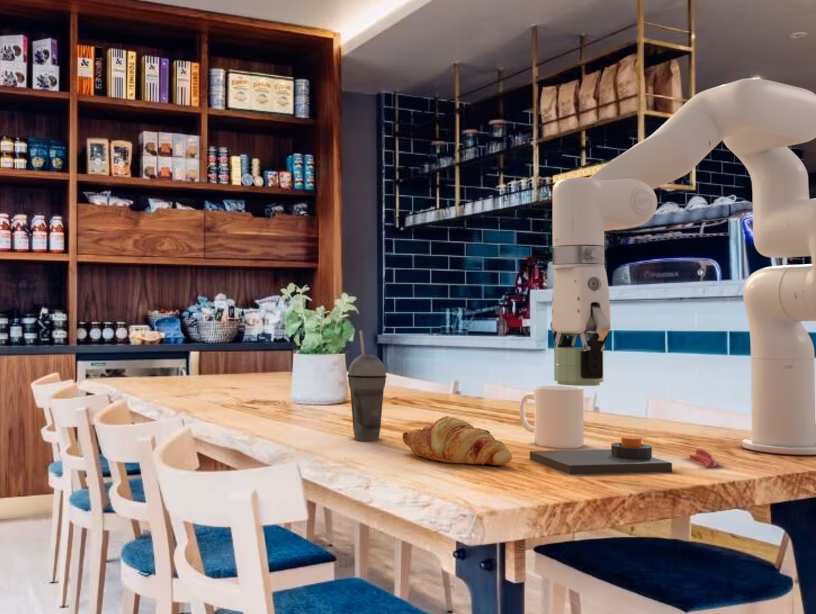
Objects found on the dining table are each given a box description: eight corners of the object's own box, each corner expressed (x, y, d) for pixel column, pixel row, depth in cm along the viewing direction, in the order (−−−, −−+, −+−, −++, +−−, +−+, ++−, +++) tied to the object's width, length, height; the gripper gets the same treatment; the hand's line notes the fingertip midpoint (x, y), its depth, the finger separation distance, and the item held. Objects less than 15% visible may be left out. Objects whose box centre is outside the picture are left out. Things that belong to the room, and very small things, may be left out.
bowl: (588, 382, 129) (588, 347, 130) (612, 386, 123) (612, 348, 123) (546, 382, 128) (546, 347, 129) (568, 386, 121) (568, 348, 122)
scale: (625, 457, 133) (624, 438, 133) (674, 472, 120) (674, 451, 121) (529, 460, 131) (529, 440, 131) (569, 475, 118) (569, 454, 118)
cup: (568, 450, 140) (568, 390, 141) (507, 442, 149) (507, 386, 150) (592, 445, 146) (592, 387, 147) (532, 438, 155) (531, 383, 155)
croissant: (522, 489, 124) (536, 440, 127) (487, 464, 118) (503, 413, 121) (413, 467, 140) (428, 423, 142) (377, 444, 134) (394, 399, 137)
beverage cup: (385, 442, 148) (385, 330, 149) (344, 441, 149) (345, 330, 150) (387, 437, 155) (387, 330, 156) (349, 436, 156) (349, 330, 157)
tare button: (634, 446, 128) (634, 436, 128) (644, 449, 125) (644, 438, 125) (617, 446, 128) (617, 436, 128) (627, 449, 125) (627, 439, 125)
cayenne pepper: (691, 456, 135) (691, 444, 135) (723, 458, 133) (723, 446, 133) (682, 467, 125) (682, 454, 125) (716, 470, 123) (716, 456, 123)
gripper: (632, 255, 118) (633, 380, 118) (573, 264, 135) (573, 373, 135) (584, 254, 117) (584, 380, 116) (530, 263, 134) (530, 373, 133)
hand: (578, 375), depth 125 cm, fingers closed on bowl, 7 cm apart
